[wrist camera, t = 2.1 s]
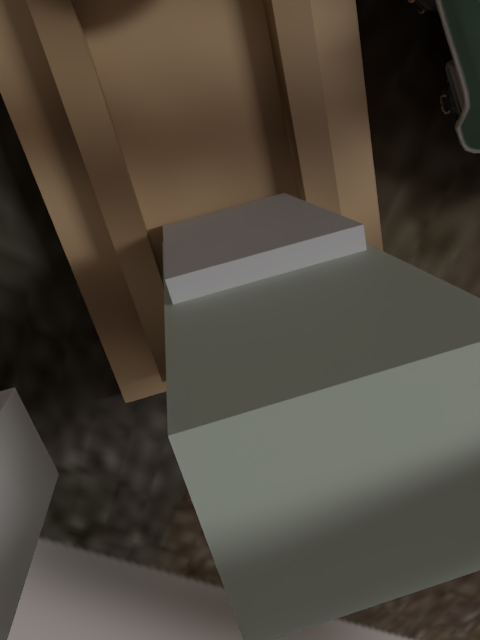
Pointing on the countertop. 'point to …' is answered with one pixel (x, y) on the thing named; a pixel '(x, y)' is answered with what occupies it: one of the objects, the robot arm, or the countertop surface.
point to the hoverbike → (460, 65)
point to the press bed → (179, 135)
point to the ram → (319, 412)
